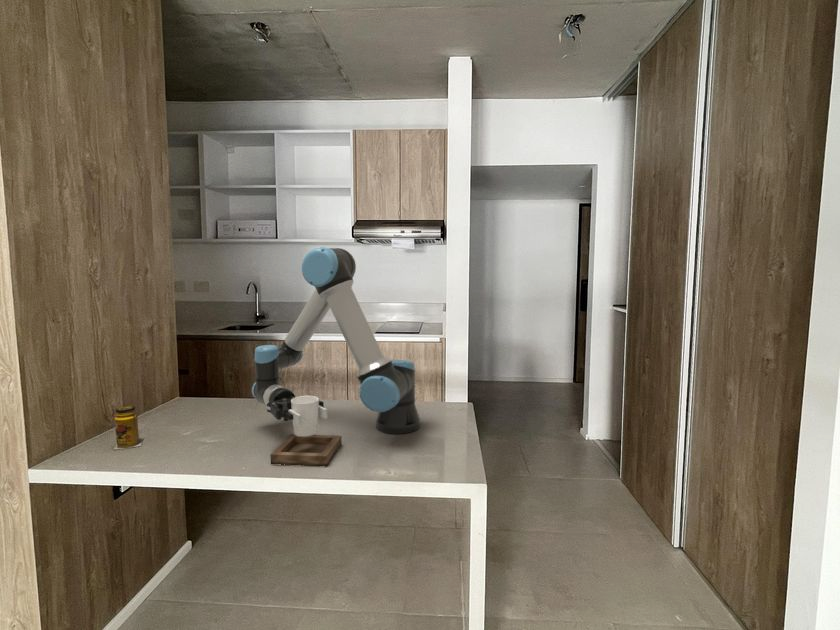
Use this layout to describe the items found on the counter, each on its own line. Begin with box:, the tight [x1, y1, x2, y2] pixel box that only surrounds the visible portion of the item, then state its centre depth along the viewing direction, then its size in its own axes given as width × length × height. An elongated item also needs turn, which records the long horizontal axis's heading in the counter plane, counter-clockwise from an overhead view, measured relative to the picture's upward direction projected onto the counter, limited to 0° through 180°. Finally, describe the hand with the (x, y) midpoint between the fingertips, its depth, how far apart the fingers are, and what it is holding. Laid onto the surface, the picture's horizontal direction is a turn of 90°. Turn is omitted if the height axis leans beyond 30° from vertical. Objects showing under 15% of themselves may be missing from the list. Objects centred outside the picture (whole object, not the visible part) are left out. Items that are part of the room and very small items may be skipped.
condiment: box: [113, 405, 145, 450], centre depth 153 cm, size 7×8×12 cm
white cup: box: [291, 395, 320, 436], centre depth 142 cm, size 8×8×10 cm
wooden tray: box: [269, 433, 343, 468], centre depth 143 cm, size 16×16×3 cm
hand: (313, 416), depth 139 cm, fingers closed on white cup, 7 cm apart
